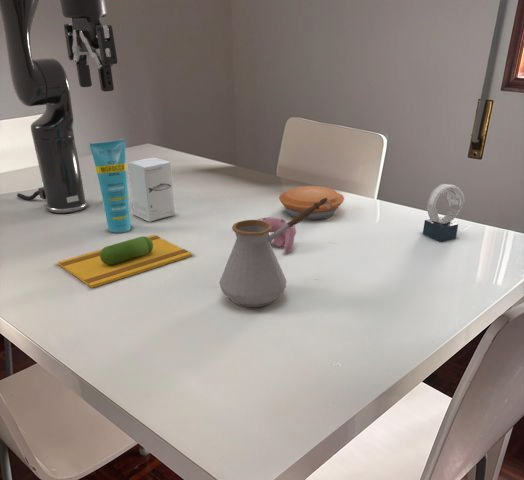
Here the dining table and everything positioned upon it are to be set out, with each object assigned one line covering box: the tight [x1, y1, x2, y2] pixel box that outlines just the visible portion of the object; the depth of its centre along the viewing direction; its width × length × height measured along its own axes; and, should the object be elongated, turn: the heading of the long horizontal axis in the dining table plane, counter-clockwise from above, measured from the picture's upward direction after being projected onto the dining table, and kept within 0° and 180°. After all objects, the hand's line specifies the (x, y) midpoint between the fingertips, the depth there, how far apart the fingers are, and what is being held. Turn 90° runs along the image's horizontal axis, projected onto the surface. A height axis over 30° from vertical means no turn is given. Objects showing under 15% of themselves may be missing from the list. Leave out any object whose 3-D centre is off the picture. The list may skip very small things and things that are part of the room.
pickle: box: [100, 236, 153, 265], centre depth 110 cm, size 4×11×4 cm
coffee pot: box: [219, 198, 332, 308], centre depth 96 cm, size 21×12×15 cm, turn 121°
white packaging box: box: [127, 156, 176, 223], centre depth 132 cm, size 7×7×13 cm
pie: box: [278, 185, 345, 221], centre depth 135 cm, size 16×16×5 cm
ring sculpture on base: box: [422, 183, 466, 243], centre depth 119 cm, size 6×8×11 cm
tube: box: [89, 138, 132, 234], centre depth 122 cm, size 7×5×19 cm, turn 123°
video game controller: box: [256, 216, 297, 254], centre depth 116 cm, size 10×5×7 cm, turn 71°
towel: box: [57, 234, 193, 289], centre depth 112 cm, size 14×22×1 cm, turn 131°
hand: (96, 88), depth 105 cm, fingers open, 8 cm apart
